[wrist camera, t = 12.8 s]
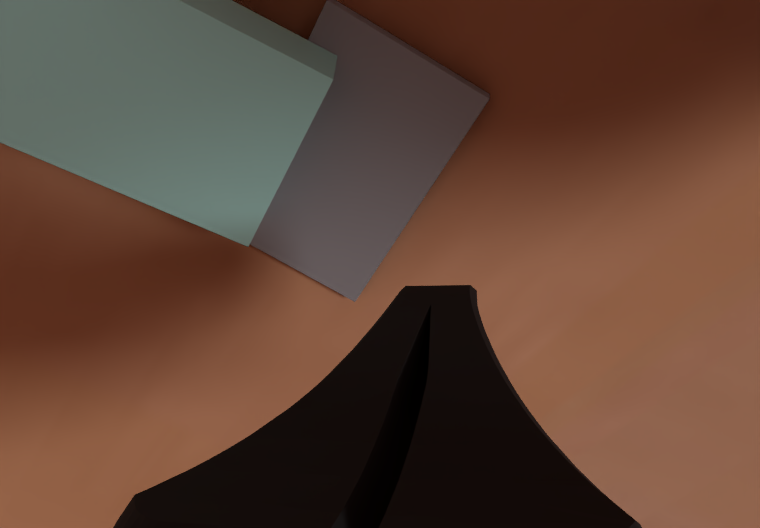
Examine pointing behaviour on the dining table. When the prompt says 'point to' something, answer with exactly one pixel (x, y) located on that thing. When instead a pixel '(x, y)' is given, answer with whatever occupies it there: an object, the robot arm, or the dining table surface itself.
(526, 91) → the dining table surface
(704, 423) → the dining table surface
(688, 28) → the dining table surface
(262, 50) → the teal tile
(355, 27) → the slot pad
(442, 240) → the dining table surface
